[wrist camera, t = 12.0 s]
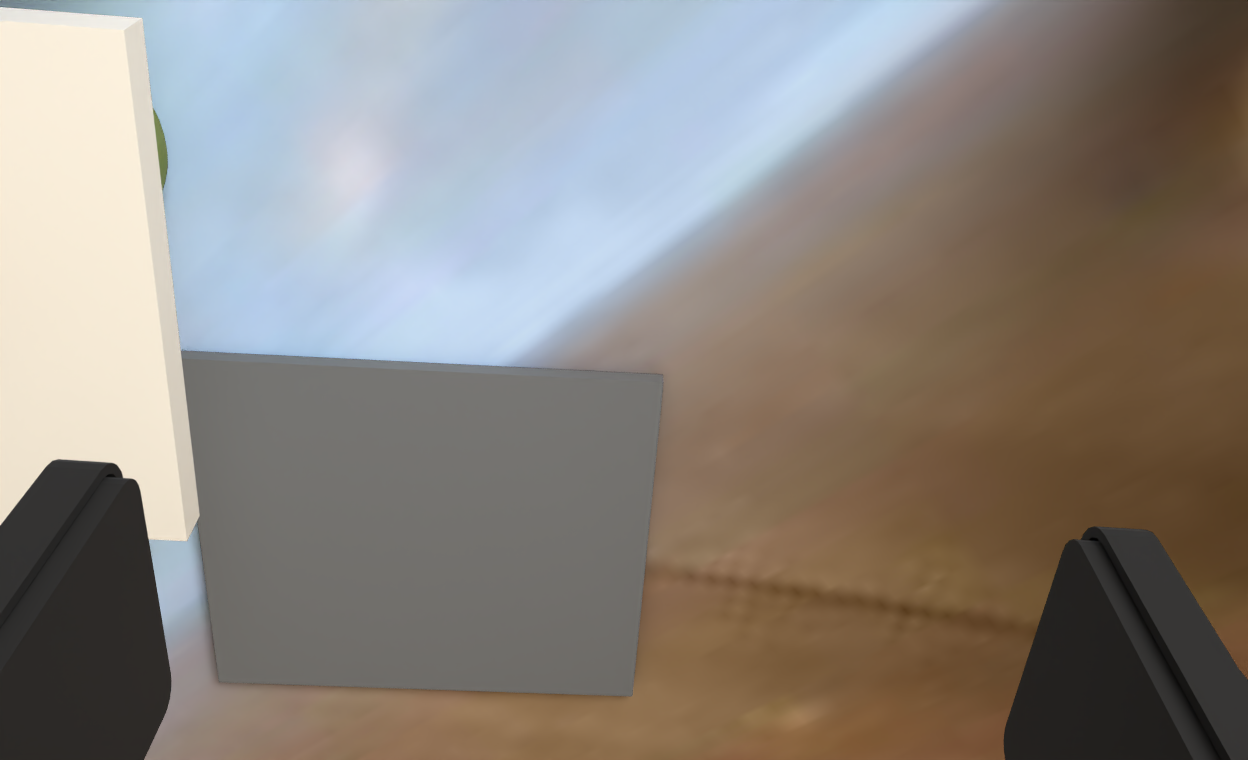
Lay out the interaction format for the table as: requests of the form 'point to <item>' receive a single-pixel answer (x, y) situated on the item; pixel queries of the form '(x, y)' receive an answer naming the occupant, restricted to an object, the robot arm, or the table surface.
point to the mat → (422, 521)
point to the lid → (87, 266)
